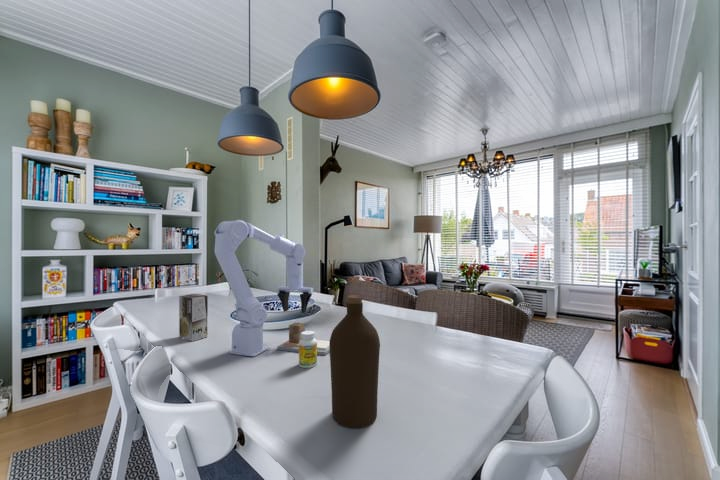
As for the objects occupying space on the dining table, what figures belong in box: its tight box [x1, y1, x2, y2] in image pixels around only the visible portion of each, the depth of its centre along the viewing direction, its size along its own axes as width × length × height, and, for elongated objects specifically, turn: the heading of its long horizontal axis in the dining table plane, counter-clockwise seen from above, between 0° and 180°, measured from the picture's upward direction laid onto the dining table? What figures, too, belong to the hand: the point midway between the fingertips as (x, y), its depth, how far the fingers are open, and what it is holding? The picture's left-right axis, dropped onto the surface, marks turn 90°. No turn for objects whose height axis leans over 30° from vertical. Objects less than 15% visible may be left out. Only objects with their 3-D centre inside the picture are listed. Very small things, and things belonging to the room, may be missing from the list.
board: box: [276, 339, 330, 356], centre depth 107 cm, size 18×11×2 cm, turn 72°
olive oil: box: [329, 294, 381, 429], centre depth 65 cm, size 11×11×25 cm
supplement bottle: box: [298, 330, 318, 369], centre depth 91 cm, size 5×5×10 cm
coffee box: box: [178, 293, 209, 342], centre depth 117 cm, size 9×6×16 cm
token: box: [288, 322, 306, 344], centre depth 108 cm, size 4×4×6 cm
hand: (294, 311), depth 115 cm, fingers open, 7 cm apart
